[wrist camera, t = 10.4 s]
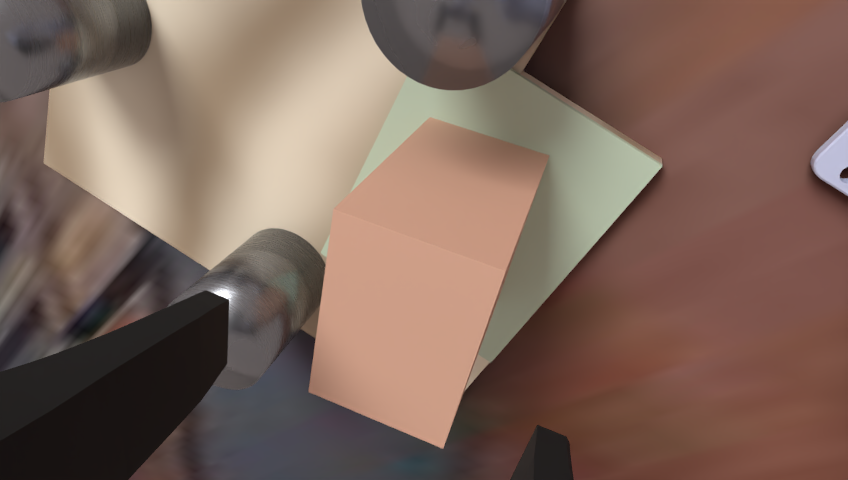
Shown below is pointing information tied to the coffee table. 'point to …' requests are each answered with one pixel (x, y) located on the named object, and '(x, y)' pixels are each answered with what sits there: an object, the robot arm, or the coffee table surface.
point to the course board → (304, 135)
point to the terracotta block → (420, 275)
